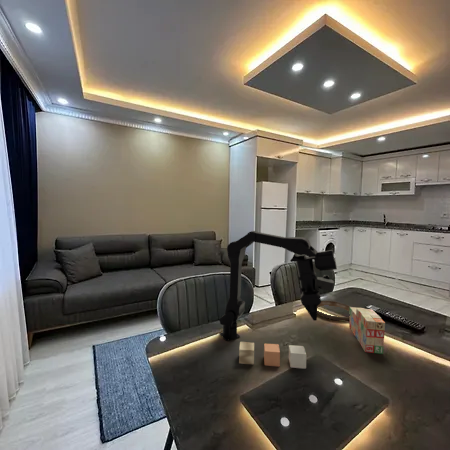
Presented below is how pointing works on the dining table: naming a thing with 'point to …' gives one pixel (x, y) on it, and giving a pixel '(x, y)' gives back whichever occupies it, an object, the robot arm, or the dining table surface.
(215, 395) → the dining table surface
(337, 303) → the plant saucer
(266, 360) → the terracotta cube
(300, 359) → the off-white cube
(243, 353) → the birch cube
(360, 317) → the stack of blocks
